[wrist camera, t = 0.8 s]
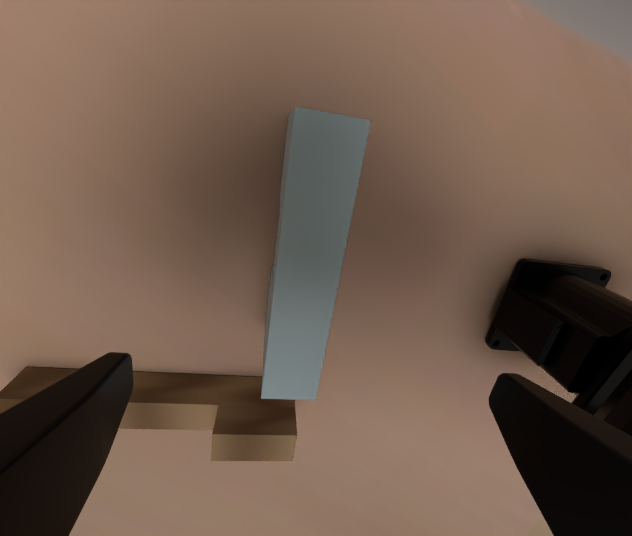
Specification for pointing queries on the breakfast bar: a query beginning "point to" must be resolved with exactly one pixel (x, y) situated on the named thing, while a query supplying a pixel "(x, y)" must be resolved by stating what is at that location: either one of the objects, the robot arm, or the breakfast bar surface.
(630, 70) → the breakfast bar surface
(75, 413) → the robot arm
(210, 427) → the walnut u-shaped block
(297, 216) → the blue-grey archway
